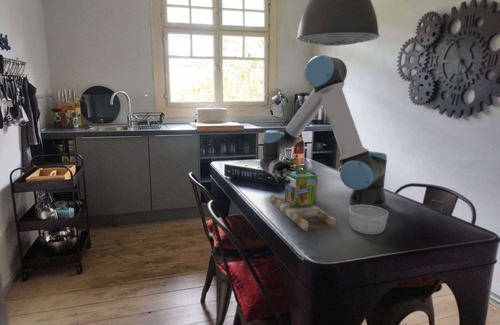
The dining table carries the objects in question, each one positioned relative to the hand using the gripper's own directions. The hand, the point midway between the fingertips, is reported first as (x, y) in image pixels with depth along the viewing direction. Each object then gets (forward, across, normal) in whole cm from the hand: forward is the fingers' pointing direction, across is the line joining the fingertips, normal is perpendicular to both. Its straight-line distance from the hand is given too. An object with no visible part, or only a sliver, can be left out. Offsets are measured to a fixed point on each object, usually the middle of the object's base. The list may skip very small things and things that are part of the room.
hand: (307, 183), depth 130 cm
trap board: (-4, 0, -14) cm, 14 cm away
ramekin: (+17, -15, -14) cm, 27 cm away
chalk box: (-4, 0, -9) cm, 10 cm away
